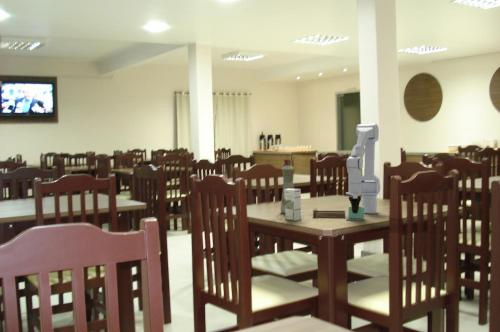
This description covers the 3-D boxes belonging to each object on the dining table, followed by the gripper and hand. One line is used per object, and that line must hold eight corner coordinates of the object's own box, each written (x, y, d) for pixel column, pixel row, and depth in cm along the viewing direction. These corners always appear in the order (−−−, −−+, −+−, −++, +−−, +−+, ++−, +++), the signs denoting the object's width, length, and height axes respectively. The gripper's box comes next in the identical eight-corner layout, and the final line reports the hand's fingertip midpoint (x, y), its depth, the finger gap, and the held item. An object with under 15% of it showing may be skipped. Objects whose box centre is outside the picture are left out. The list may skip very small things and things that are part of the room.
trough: (314, 214, 265) (314, 207, 264) (345, 215, 262) (345, 207, 262) (313, 217, 256) (313, 210, 256) (345, 217, 254) (345, 210, 254)
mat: (346, 217, 253) (346, 216, 253) (363, 217, 252) (363, 216, 252) (346, 220, 245) (346, 219, 245) (364, 220, 244) (364, 219, 244)
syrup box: (301, 219, 251) (301, 188, 251) (294, 221, 247) (293, 189, 246) (291, 218, 255) (291, 187, 254) (284, 219, 251) (283, 188, 250)
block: (348, 216, 251) (348, 206, 251) (363, 217, 250) (363, 206, 250) (348, 217, 247) (348, 207, 247) (364, 218, 246) (364, 207, 246)
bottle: (284, 211, 279) (283, 157, 278) (300, 212, 275) (299, 157, 274) (277, 213, 272) (276, 158, 270) (294, 214, 268) (293, 158, 266)
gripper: (345, 181, 256) (346, 210, 256) (346, 184, 241) (346, 214, 242) (361, 181, 254) (361, 210, 255) (362, 184, 240) (362, 214, 241)
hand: (355, 212), depth 249 cm, fingers closed on block, 4 cm apart
